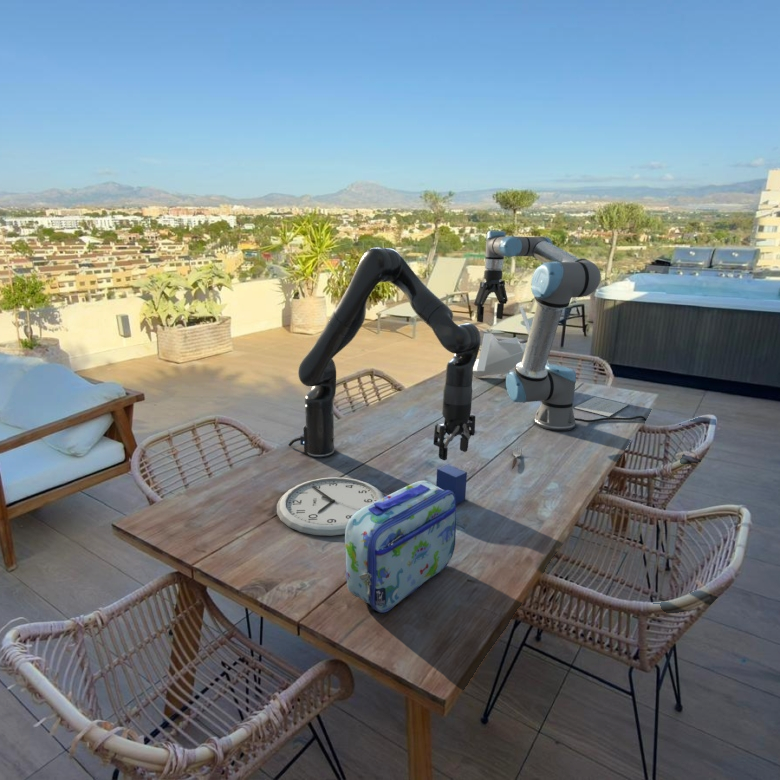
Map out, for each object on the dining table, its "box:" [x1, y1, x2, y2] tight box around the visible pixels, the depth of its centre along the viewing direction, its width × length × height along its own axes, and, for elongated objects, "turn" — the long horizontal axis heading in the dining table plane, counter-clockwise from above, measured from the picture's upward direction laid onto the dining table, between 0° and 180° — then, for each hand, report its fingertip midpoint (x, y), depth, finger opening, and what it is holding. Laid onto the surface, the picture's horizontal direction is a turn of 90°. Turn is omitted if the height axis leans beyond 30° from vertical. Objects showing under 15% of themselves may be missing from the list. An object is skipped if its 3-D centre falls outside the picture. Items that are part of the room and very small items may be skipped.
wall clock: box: [276, 476, 386, 537], centre depth 142 cm, size 30×2×30 cm
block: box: [435, 463, 468, 505], centre depth 146 cm, size 5×7×9 cm
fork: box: [511, 445, 523, 470], centre depth 172 cm, size 3×16×2 cm, turn 160°
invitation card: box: [573, 396, 629, 418], centre depth 226 cm, size 21×1×15 cm
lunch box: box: [344, 480, 457, 614], centre depth 109 cm, size 26×11×21 cm, turn 135°
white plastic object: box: [473, 306, 550, 378], centre depth 259 cm, size 37×45×31 cm
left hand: (453, 455), depth 144 cm, fingers open, 8 cm apart
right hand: (489, 320), depth 224 cm, fingers open, 13 cm apart
